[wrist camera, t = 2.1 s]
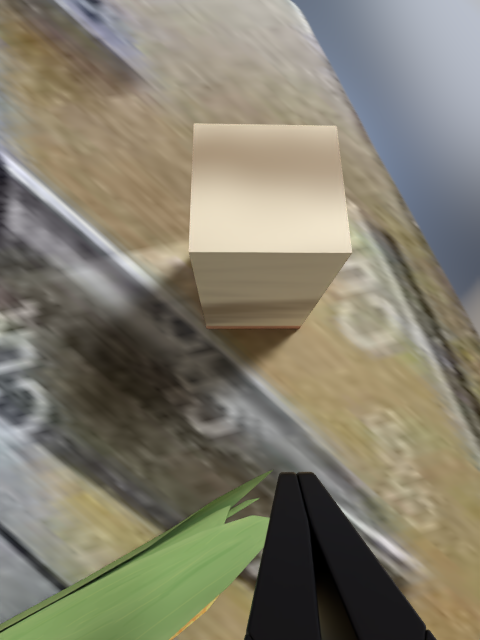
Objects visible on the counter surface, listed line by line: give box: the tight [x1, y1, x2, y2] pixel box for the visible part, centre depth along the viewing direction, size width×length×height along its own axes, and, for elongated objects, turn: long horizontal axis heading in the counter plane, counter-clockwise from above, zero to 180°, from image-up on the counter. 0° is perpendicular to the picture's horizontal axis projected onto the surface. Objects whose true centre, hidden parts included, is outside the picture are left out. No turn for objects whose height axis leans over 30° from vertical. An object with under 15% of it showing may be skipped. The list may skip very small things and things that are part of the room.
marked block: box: [189, 124, 352, 329], centre depth 18 cm, size 6×6×10 cm
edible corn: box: [0, 470, 273, 640], centre depth 16 cm, size 5×20×5 cm
